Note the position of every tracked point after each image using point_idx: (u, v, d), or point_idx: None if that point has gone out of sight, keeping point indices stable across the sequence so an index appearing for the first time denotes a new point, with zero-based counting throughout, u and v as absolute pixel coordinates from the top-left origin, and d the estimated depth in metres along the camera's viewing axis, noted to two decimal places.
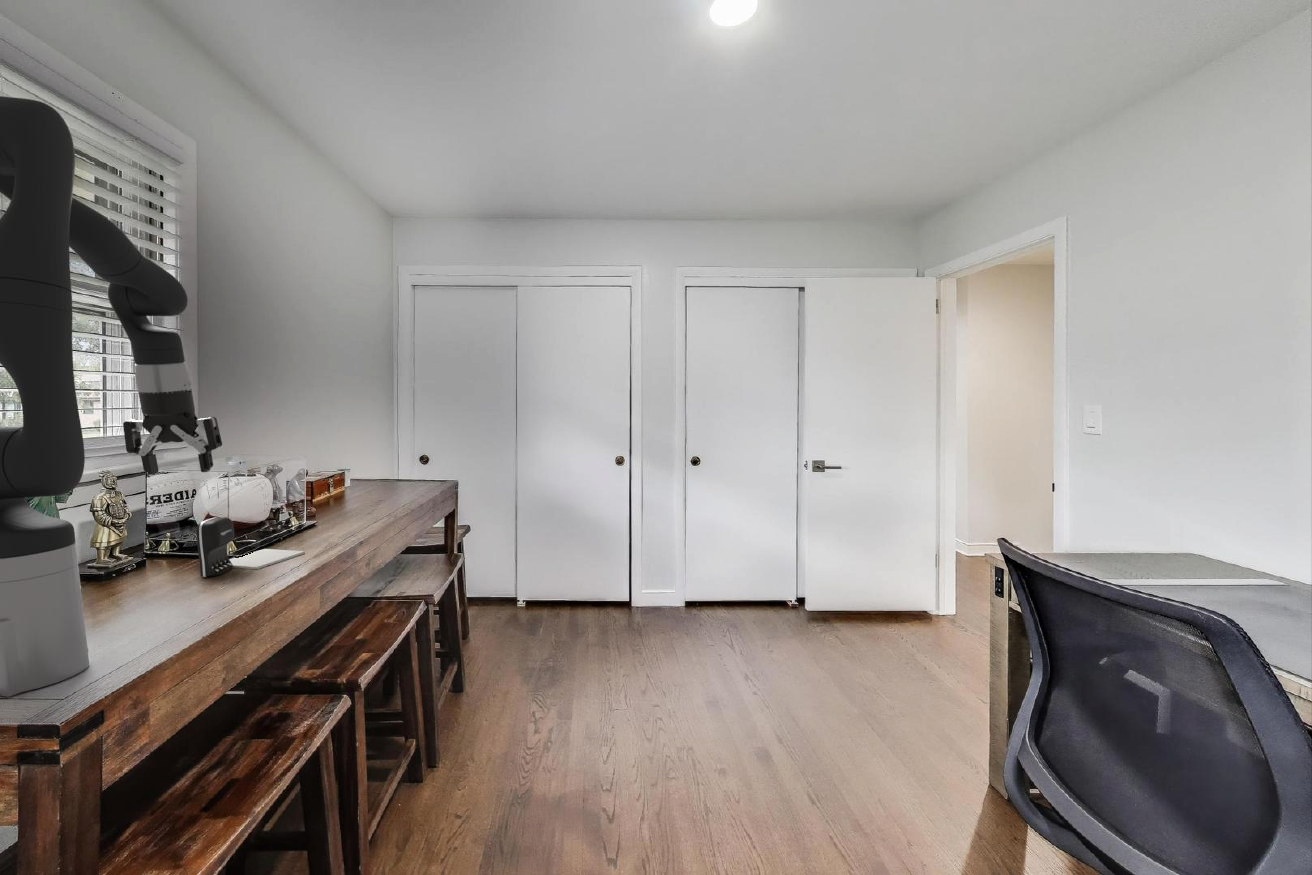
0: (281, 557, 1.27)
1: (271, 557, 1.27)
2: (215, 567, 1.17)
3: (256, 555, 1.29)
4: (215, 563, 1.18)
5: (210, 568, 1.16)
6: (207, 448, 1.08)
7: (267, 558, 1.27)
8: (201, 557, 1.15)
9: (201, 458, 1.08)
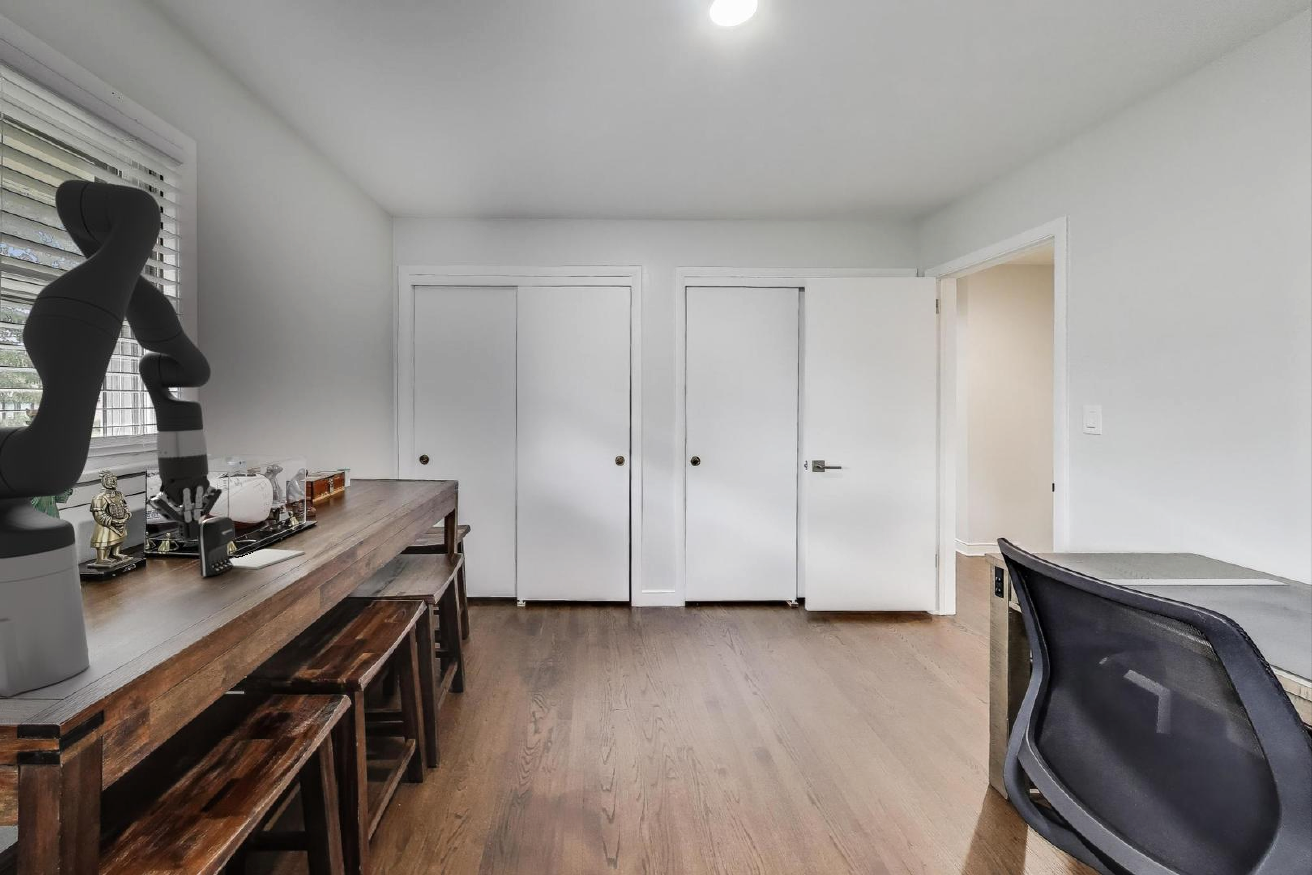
0: (281, 557, 1.27)
1: (271, 557, 1.27)
2: (215, 566, 1.17)
3: (256, 555, 1.29)
4: (215, 562, 1.18)
5: (210, 567, 1.16)
6: None
7: (267, 558, 1.27)
8: (202, 556, 1.15)
9: (195, 525, 1.13)
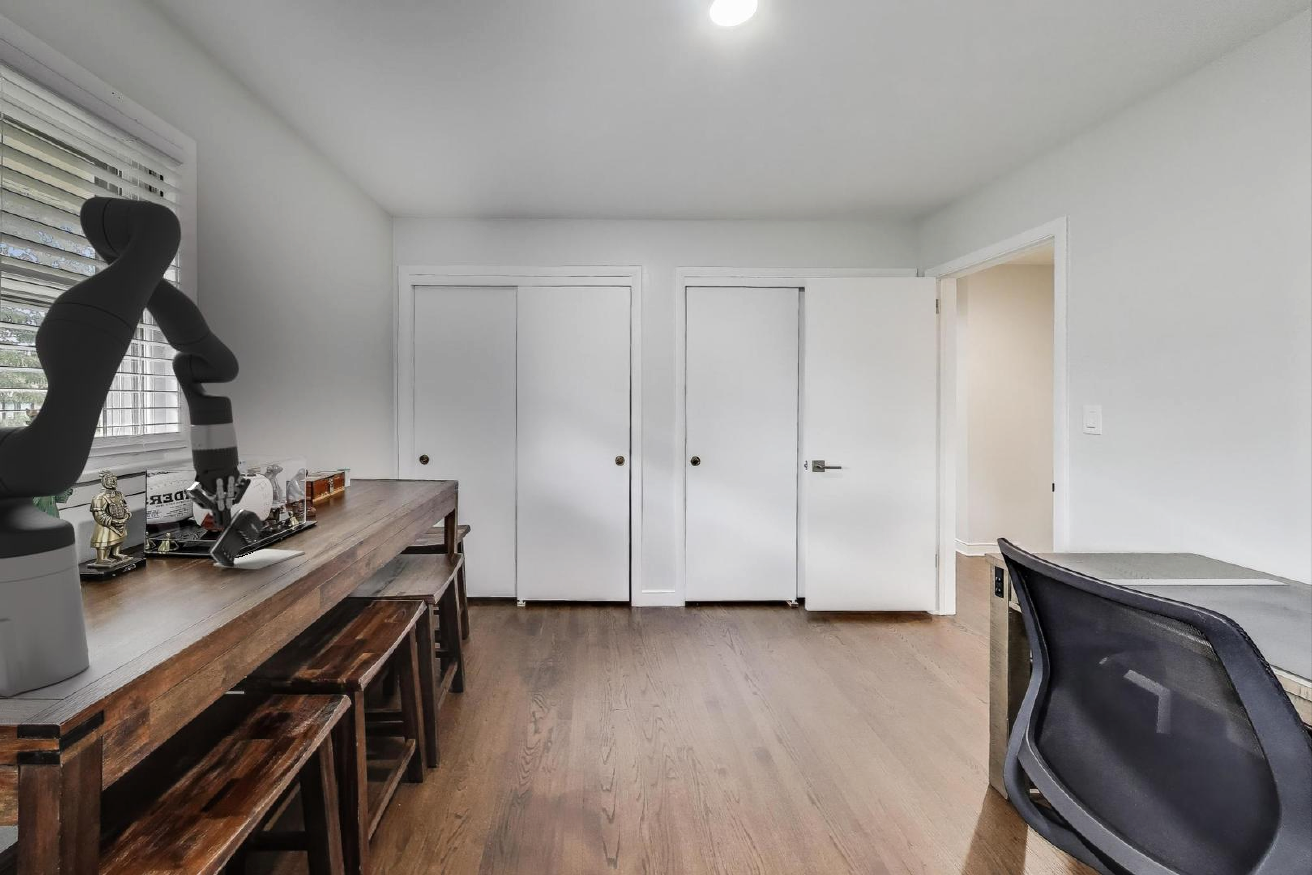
0: (281, 557, 1.27)
1: (271, 557, 1.27)
2: (224, 551, 1.19)
3: (256, 555, 1.29)
4: (226, 549, 1.20)
5: (221, 547, 1.18)
6: None
7: (267, 558, 1.27)
8: (222, 535, 1.19)
9: (228, 513, 1.20)
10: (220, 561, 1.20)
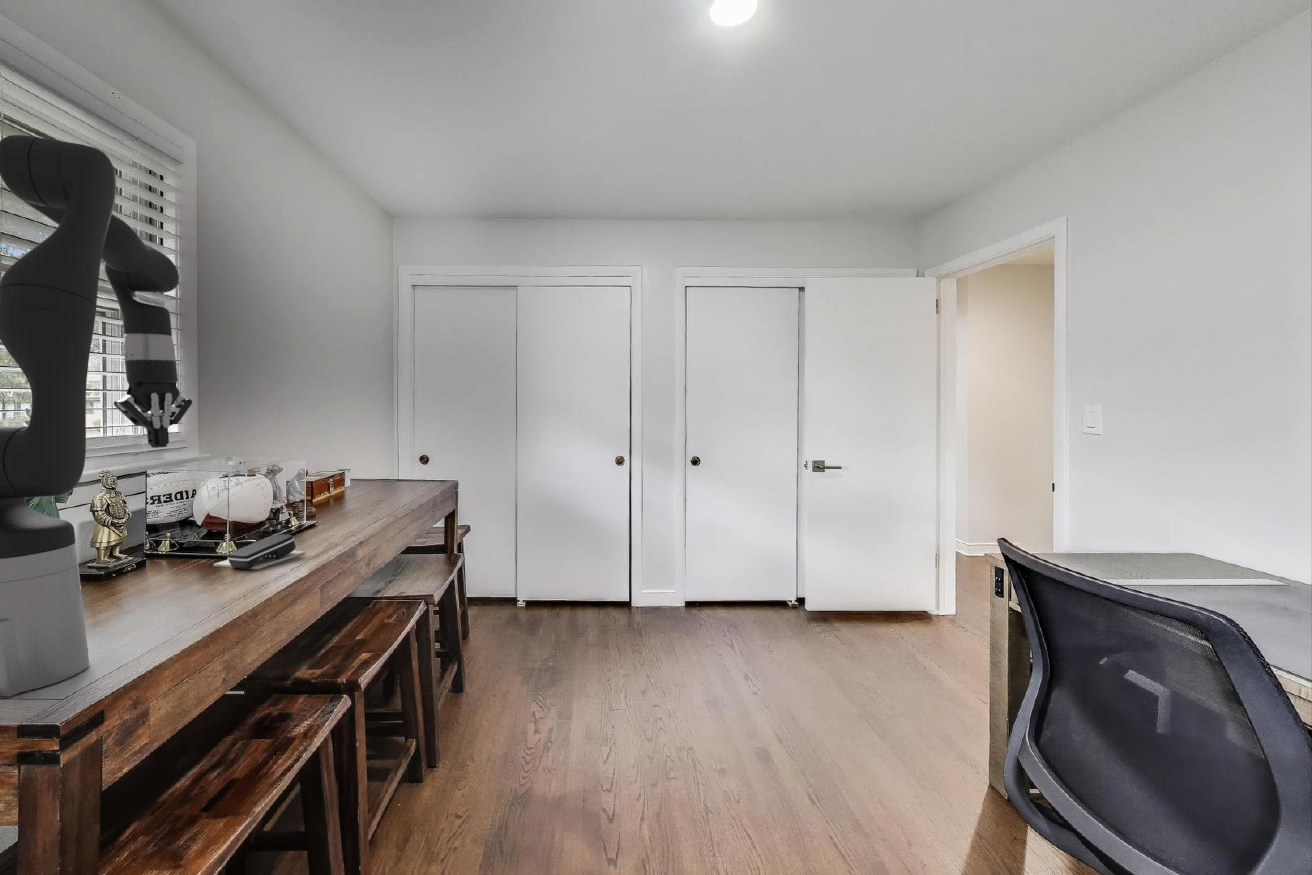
0: (281, 557, 1.27)
1: None
2: None
3: None
4: None
5: (255, 561, 1.21)
6: (168, 423, 1.13)
7: (267, 558, 1.27)
8: (266, 550, 1.23)
9: (164, 433, 1.12)
10: (236, 561, 1.20)
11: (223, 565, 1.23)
